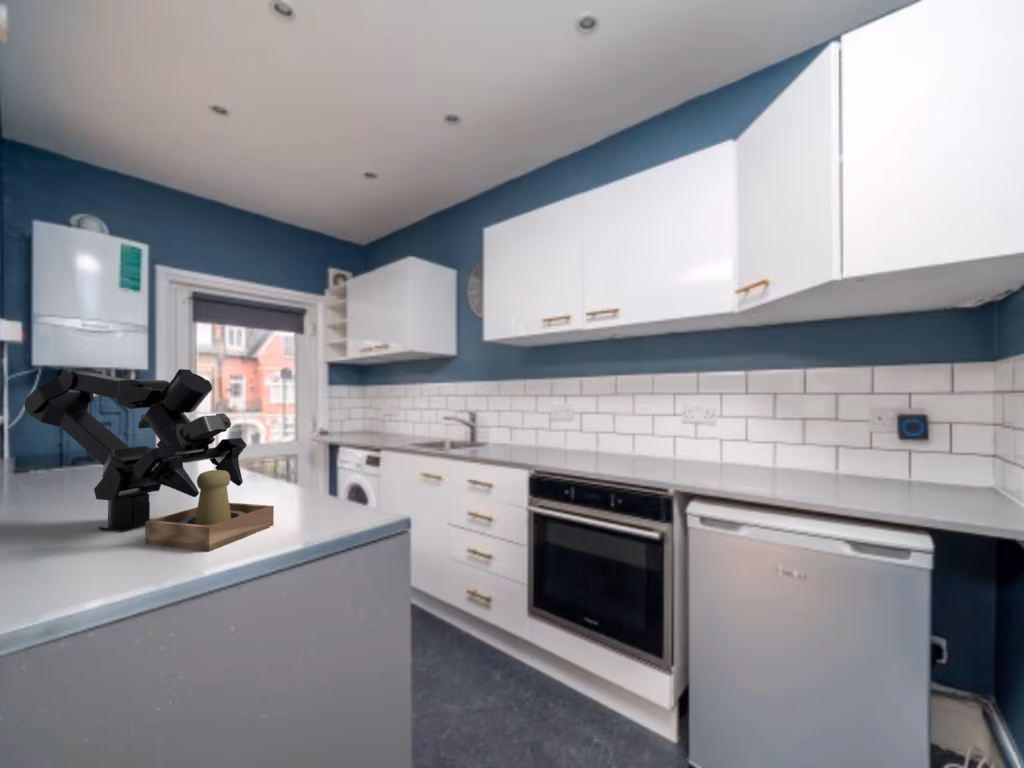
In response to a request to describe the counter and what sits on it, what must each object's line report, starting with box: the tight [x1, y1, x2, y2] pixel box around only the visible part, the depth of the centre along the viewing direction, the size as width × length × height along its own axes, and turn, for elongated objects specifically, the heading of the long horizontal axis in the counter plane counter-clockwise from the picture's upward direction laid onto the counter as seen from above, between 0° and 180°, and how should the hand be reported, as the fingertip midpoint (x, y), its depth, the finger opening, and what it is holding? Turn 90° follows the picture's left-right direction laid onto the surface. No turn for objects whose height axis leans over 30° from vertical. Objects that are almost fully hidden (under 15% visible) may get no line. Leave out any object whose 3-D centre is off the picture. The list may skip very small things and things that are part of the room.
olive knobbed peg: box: [195, 469, 231, 525], centre depth 81 cm, size 6×6×11 cm
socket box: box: [144, 502, 275, 552], centre depth 81 cm, size 14×14×4 cm
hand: (220, 489), depth 80 cm, fingers open, 9 cm apart
